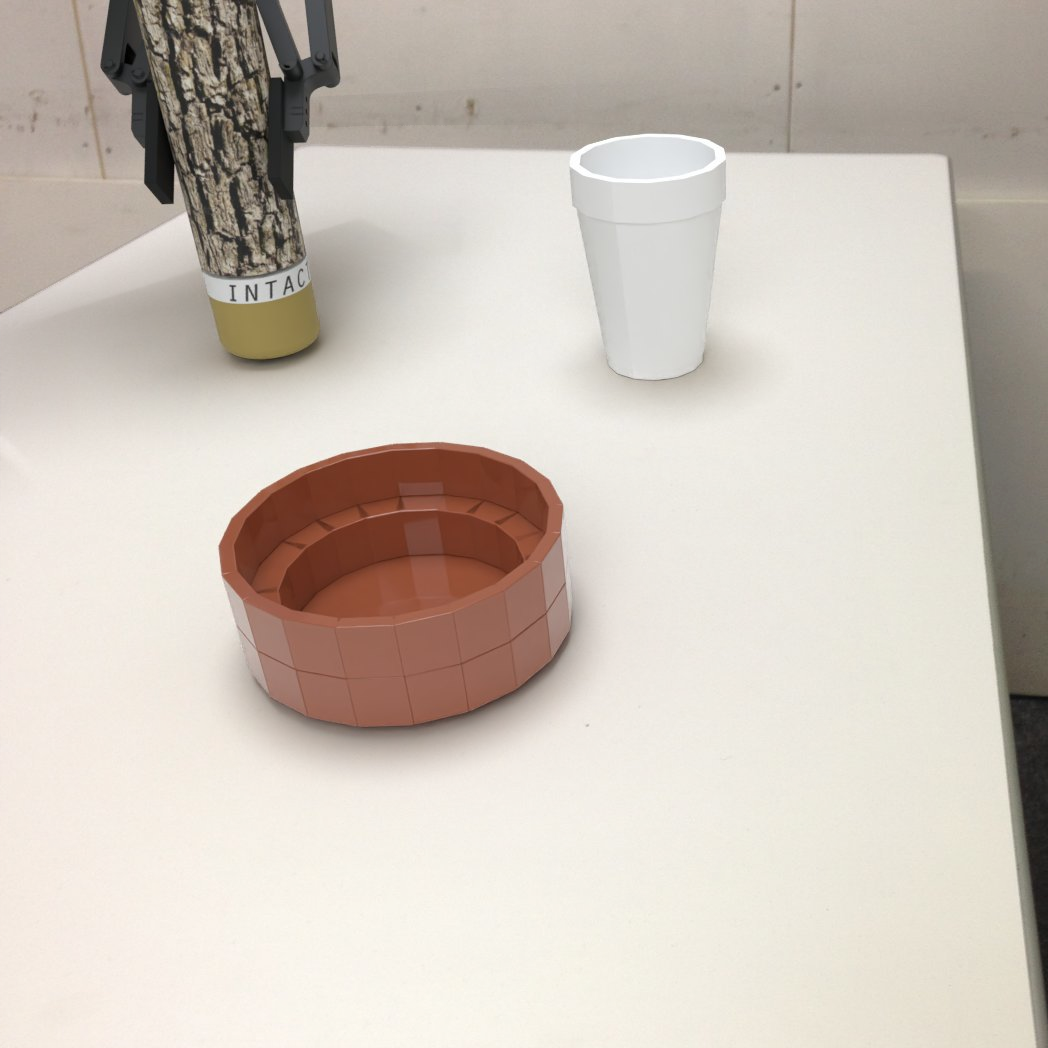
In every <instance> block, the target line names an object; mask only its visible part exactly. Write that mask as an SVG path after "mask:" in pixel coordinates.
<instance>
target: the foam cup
mask: <svg viewBox="0 0 1048 1048" xmlns="http://www.w3.org/2000/svg"><path fill="white" fill-rule="evenodd" d="M725 151H726V150H725V148H724V147H722V146H720V145H719V144H717V143H715V142H713V141H711V140H709V139H707V138H702V137H701V138H700V137H696V136H691V135H684V134H680V133H679V134H673V133H642V134H632V135H624V136H615V137H611V138H608V139H604V140H600V141H597V142H593V143H589V144H586V145H585V146H583V147H581V148H580V149H578V150H577V151H575V152H574V153H572V154H571V155H570V159H569V167H568V168H569V177H570V179H569V181H570V194H571V205H572V207H573V208H575V209H576V214H577V219H578V225H579V229H580V234H581V240H582V244H583V248H584V249H583V250H584V253H585V258H586V264H587V268H588V274H589V279H590V284H591V288H592V294H593V298H594V303H595V308H596V314H597V318H598V322H599V329H600V332H601V337H602V342H603V343H602V344H603V348H604V353H605V356H606V358H607V365H608V367H610V368H611V369H612V370H613V371H614V372H615V373H616V374H618V375H621V376H623V377H627V378H631V379H633V380H646V381H647V380H648V381H660V380H667V379H675V378H679V377H681V376H683V375H687V374H689V373H691V372H694V371H695V370H696V369H697V368H698V367H699V366H700V365H701V364H702V363H703V361H704V360H703V359H704V357H703V356H704V355H703V354H704V353H705V347H706V341H707V340H706V339H707V332H708V323H709V314H710V305H711V299H712V298H711V297H712V289H713V281H714V274H715V265H716V257H717V250H718V249H717V248H718V240H719V234H720V226H721V225H720V223H721V218H722V217H721V215H722V207H723V202H725V200H727V157H726V152H725Z"/></svg>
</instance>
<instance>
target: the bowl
mask: <svg viewBox="0 0 1048 1048" xmlns="http://www.w3.org/2000/svg"><path fill="white" fill-rule="evenodd" d="M566 528H567V526H566V517H565V506H564V504H563V501H562V500H561V497H560V496H559V494H558V492H557V491H556V488H555V486H554V485H553V483H552V481H551V480H550V479H549V477H547V476H545V475H544V474H543V473H541V472H540V471H538V470H537V469H535V468H534V467H533V466H531V465H530V464H528V462H525V461H524V460H522V459H520V458H517V457H514V456H511V455H508V454H505V453H502V452H499V451H497V450H493V449H491V448H488V447H485V446H477V445H471V444H470V445H469V444H461V443H452V442H444V441H429V442H404V443H401V442H400V443H389V444H384V445H379V446H375V447H374V446H373V447H367V448H363V449H358V450H353V451H347V452H344V453H343V452H342V453H339V454H337V455H333V456H331V457H328V458H325V459H322V460H319V461H317V462H314V463H311V464H308V465H305V466H303V467H300V468H298V469H296V470H294V471H292V472H290V473H289V474H287V475H285V476H283V477H282V478H280V479H278V480H276V481H274V482H272V483H271V484H269V485H267V486H266V487H264V488H262V489H261V490H260V491H258V492H257V493H256V494H255V495H254V496H253V497H252V498H251V499H250V500H249V501H248V502H246V503H245V505H244V506H243V507H241V508H240V509H239V510H238V511H237V512H236V513H235V514H234V515H233V516H232V517H230V520H229V523H228V525H227V526H226V529H225V531H224V533H223V535H222V537H221V539H220V541H219V544H218V546H217V547H218V548H217V549H218V557H219V566H220V576H221V578H222V579H221V580H222V582H223V585H224V588H225V589H224V590H225V592H226V595H227V599H228V602H229V603H228V604H229V605H230V608H231V613H232V616H233V619H234V623H235V626H236V629H237V632H238V637H239V640H240V643H241V646H242V650H243V653H244V657H245V661H246V663H247V666H248V669H249V672H250V673H251V674H252V676H253V677H254V678H255V680H256V681H257V682H258V684H260V687H262V688H263V690H264V691H265V692H266V694H267V695H268V696H269V698H271V699H273V700H274V701H276V702H278V703H280V704H283V705H284V706H286V707H288V708H290V709H292V710H294V712H298V713H299V714H301V715H303V716H305V717H307V718H311V719H316V720H320V721H326V722H332V723H337V724H342V725H347V726H353V727H358V728H371V727H401V726H414V725H420V724H424V723H428V722H432V721H436V720H441V719H445V718H448V717H449V718H450V717H453V716H458V715H462V714H465V713H469V712H471V711H474V710H476V709H478V708H480V707H482V706H484V705H486V704H489V703H491V702H493V701H495V700H497V699H499V698H501V697H504V696H505V695H507V694H510V693H512V692H514V691H516V690H517V689H519V688H520V687H521V686H523V685H524V684H525V683H526V682H527V681H529V679H531V678H532V677H534V675H536V674H537V673H538V672H539V671H540V670H542V669H543V668H544V667H545V666H546V665H548V664H549V663H550V662H551V661H552V660H553V659H554V657H555V655H556V654H557V652H558V650H559V649H560V647H561V645H562V643H563V642H564V640H565V638H566V637H567V635H568V633H570V629H571V624H572V611H573V591H572V581H571V569H570V561H569V560H570V559H569V549H568V539H567V529H566Z"/></svg>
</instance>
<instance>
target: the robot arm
mask: <svg viewBox="0 0 1048 1048" xmlns="http://www.w3.org/2000/svg"><path fill="white" fill-rule="evenodd" d="M108 1H109V2H108V8H107V15H106V22H105V28H104V29H105V30H104V35H103V42H102V49H101V57H100V63H99V65H100V70H101V71H102V73H103V74H104V75H105V76H106V78H107V79H108V80H109V82H110V83H111V84H112V85H113V86H114V88H115V89H116V91H117V92H118V93H119V94H120V95H121V96H125V97H126V96H130V95H131V116H130V119H131V121H130V130H131V133H132V135H133V137H134V138H135V141H137V142H138V144H139V145H140V146H141V147H142V149H144V171H143V184H144V185H145V187H146V188H147V189H148V191H150V192H151V193H152V195H153V196H154V197H155V198H156V200H157V201H158V202H159V203H160V204H161V205H175V171H176V167H175V163H174V159H173V155H172V151H171V147H170V143H169V139H168V135H167V131H166V127H165V123H164V119H163V115H162V111H161V108H160V104H159V100H158V96H157V92H156V88H155V84H154V80H153V76H152V72H151V68H150V64H149V60H148V56H147V52H146V48H145V44H144V40H143V36H142V32H141V29H140V25H139V21H138V17H137V13H136V9H135V5H134V1H133V0H108ZM256 5H257V10H258V13H259V15H260V17H261V21H262V22H263V25H264V28H265V31H266V33H267V36H268V38H269V41H270V44H271V47H272V49H273V51H274V55H275V57H276V60H277V62H278V67H279V69H280V70H281V73H282V74H283V78H282V76H276V77H274V76H273V77H272V76H271V78H269V114H268V180H269V182H270V183H271V185H272V186H273V188H274V189H275V191H276V192H277V194H278V196H279V197H280V199H281V200H293V190H294V173H295V172H294V171H295V170H294V169H295V167H294V166H295V165H294V164H295V160H294V159H295V144H304V143H305V144H307V142H308V139H309V137H310V130H311V129H310V124H311V123H310V122H311V121H310V116H311V114H310V113H311V111H310V110H311V109H310V108H311V107H310V106H311V96H312V94H313V93H314V92H315V91H316V90H318V89H321V88H322V87H325V88H328V89H333V88H336V87H337V86H339V84H340V82H341V72H340V62H339V61H340V60H339V51H338V43H337V35H336V34H337V33H336V25H335V17H334V16H335V15H334V7H333V5H334V4H333V0H304V7H305V16H306V25H307V35H308V45H309V54H310V56H308V57H306V58H304V59H302V58H301V55H300V53H299V50H298V47H297V45H296V42H295V39H294V37H293V34H292V32H291V29H290V26H289V24H288V21H287V18H286V16H285V14H284V11H283V8H282V6H281V2H280V0H256Z"/></svg>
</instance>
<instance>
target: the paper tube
mask: <svg viewBox="0 0 1048 1048" xmlns="http://www.w3.org/2000/svg"><path fill="white" fill-rule="evenodd" d="M133 1H134V5H135V9H136V13H137V17H138V21H139V25H140V29H141V32H142V36H143V40H144V44H145V48H146V52H147V56H148V60H149V64H150V68H151V72H152V76H153V80H154V84H155V88H156V92H157V96H158V100H159V104H160V108H161V111H162V115H163V119H164V123H165V127H166V131H167V135H168V139H169V143H170V147H171V151H172V155H173V159H174V163H175V171H176V174H177V179H178V182H179V186H180V191H181V194H182V198H183V203H184V206H185V210H186V215H187V218H188V221H189V226H190V230H191V234H192V238H193V242H194V245H195V250H196V254H197V257H198V261H199V265H200V269H201V270H200V271H201V273H202V277H203V281H204V286H205V289H206V293H207V295H208V300H209V304H210V307H211V311H212V316H213V319H214V322H215V327H216V331H217V334H218V335H217V336H218V338H219V342H220V345H221V346H222V347H223V348H224V349H225V350H226V351H227V352H228V353H229V354H231V355H233V356H236V357H238V358H239V357H240V358H243V359H248V360H270V359H277V358H282V357H287V356H290V355H293V354H296V353H299V352H301V351H303V350H305V349H306V348H308V347H309V346H310V345H312V344H313V343H314V342H315V341H316V340H317V338H318V336H319V334H320V332H321V323H320V318H319V317H320V316H319V313H318V307H317V303H316V298H315V293H314V288H313V283H312V276H311V271H310V265H309V261H308V256H307V255H308V254H307V250H306V245H305V241H304V235H303V231H302V226H301V221H300V215H299V211H298V205H297V201H296V195H295V189H293V200H281V199H280V197H279V196H278V194H277V192H276V191H275V189H274V188H273V186H272V185H271V183H270V182H269V180H268V114H269V78H272V76H271V70H270V66H269V61H268V56H267V51H266V45H265V41H264V36H263V30H262V26H261V21H260V16H259V15H260V14H259V10H258V7H257V4H256V0H133Z"/></svg>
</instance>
